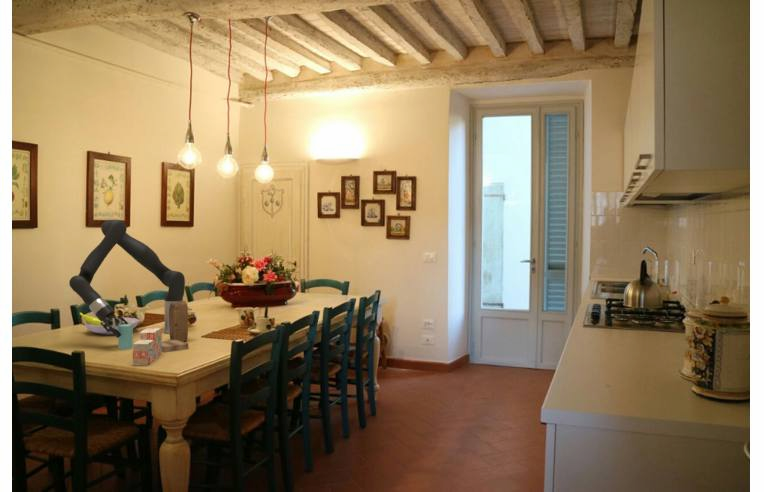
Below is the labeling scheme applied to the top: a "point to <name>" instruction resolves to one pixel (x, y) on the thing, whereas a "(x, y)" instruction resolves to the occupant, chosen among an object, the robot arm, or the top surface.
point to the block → (178, 320)
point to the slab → (173, 345)
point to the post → (125, 336)
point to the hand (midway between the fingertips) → (124, 334)
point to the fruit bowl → (95, 326)
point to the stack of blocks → (147, 346)
